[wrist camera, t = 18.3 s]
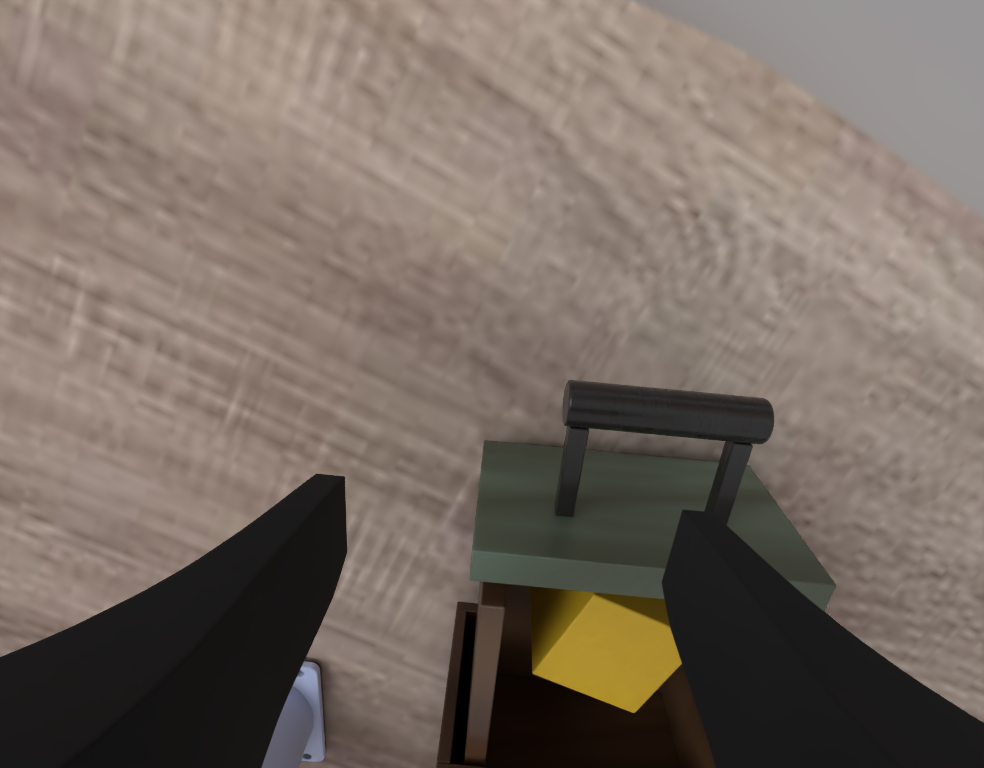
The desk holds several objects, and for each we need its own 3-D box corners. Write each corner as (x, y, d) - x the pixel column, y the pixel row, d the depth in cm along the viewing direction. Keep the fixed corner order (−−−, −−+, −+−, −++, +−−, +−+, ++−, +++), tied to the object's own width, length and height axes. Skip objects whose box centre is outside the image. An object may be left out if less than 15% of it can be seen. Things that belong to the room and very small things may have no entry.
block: (528, 583, 23) (531, 674, 19) (580, 512, 22) (594, 594, 18) (614, 619, 24) (634, 714, 20) (671, 552, 22) (704, 641, 18)
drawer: (494, 329, 20) (484, 408, 14) (785, 357, 20) (901, 448, 14) (463, 664, 27) (449, 810, 21) (676, 685, 27) (720, 836, 21)
